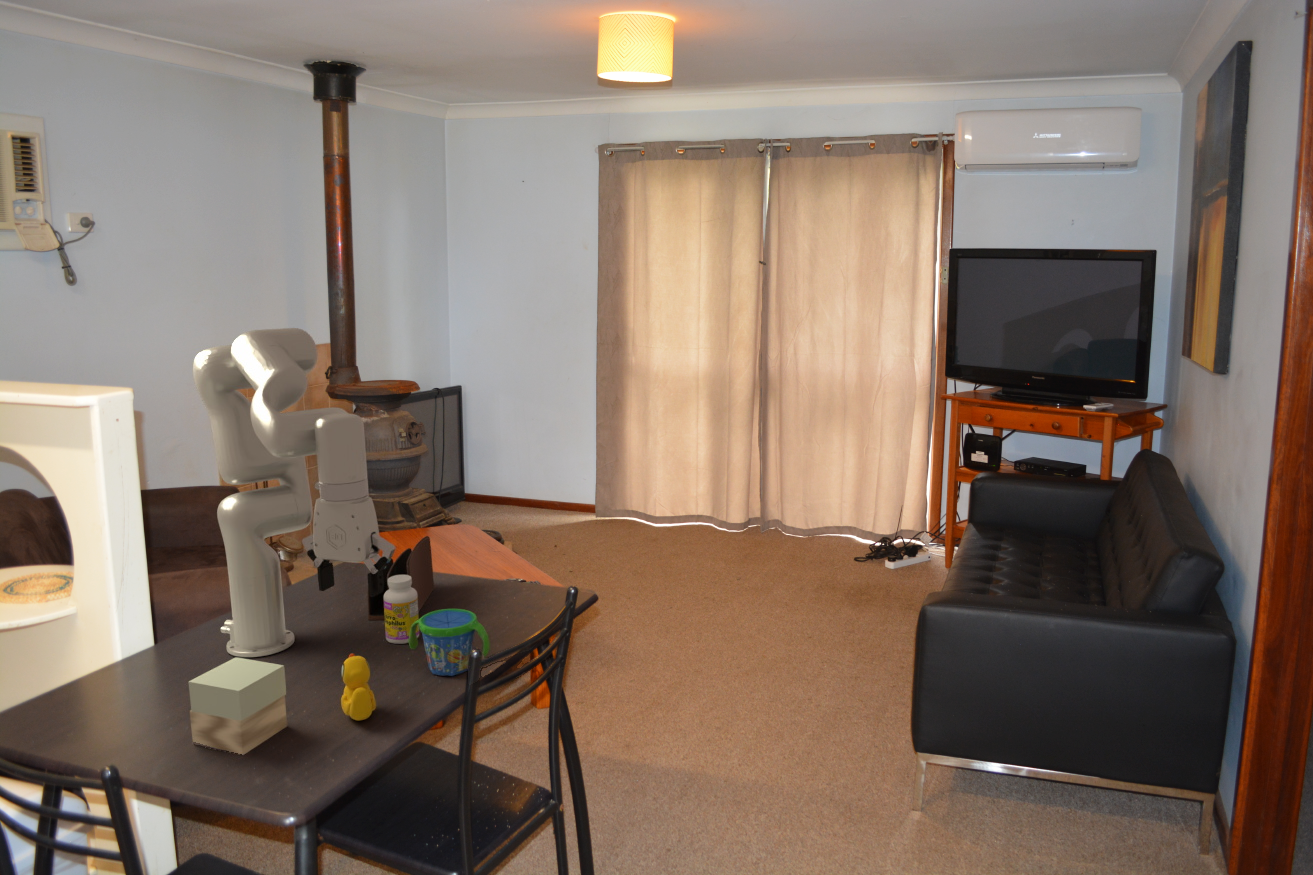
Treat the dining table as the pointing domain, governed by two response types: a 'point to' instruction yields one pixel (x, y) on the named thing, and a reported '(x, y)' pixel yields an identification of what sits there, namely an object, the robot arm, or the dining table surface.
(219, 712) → the tower top
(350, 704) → the duckling
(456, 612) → the snack cup
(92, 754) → the dining table surface
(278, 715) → the tower base
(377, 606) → the letter holder
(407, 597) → the supplement bottle
